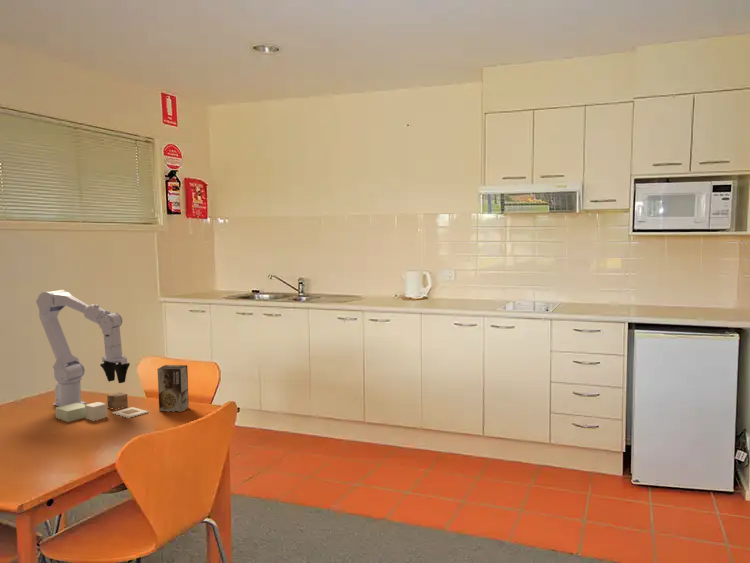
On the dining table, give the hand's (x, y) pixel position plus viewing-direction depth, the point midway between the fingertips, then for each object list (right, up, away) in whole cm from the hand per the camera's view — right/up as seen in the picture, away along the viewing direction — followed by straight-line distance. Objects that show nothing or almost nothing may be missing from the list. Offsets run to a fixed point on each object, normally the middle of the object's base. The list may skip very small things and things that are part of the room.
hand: (116, 381), depth 221 cm
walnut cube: (0, -10, +1) cm, 10 cm away
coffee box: (+22, -10, -2) cm, 24 cm away
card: (+8, -10, -7) cm, 15 cm away
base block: (-11, -11, -11) cm, 19 cm away
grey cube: (-2, -11, -12) cm, 16 cm away
